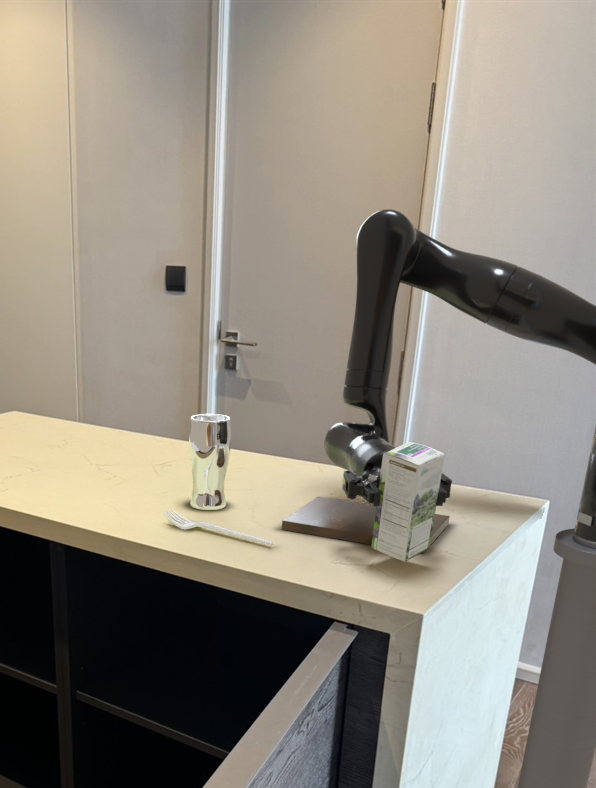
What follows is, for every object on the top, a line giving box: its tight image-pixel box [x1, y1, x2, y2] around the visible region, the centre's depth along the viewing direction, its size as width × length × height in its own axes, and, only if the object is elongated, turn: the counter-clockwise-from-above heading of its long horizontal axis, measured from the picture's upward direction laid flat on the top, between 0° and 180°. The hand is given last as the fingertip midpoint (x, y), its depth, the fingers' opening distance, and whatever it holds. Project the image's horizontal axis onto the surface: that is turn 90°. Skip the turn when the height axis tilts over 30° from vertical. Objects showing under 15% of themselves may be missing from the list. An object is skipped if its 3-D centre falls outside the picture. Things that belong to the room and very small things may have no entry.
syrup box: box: [370, 441, 446, 562], centre depth 116 cm, size 6×6×14 cm
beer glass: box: [188, 413, 232, 511], centre depth 145 cm, size 7×7×15 cm
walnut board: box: [281, 496, 451, 554], centre depth 136 cm, size 22×16×2 cm
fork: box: [162, 508, 274, 547], centre depth 133 cm, size 3×20×2 cm, turn 49°
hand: (409, 499), depth 115 cm, fingers closed on syrup box, 8 cm apart
